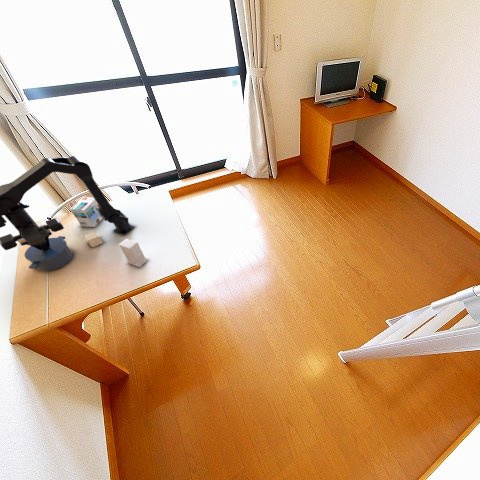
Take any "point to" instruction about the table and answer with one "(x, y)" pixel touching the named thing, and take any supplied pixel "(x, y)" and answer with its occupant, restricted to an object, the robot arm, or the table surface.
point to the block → (93, 239)
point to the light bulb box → (87, 212)
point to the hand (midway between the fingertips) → (44, 247)
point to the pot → (54, 260)
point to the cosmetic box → (132, 252)
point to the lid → (46, 250)
